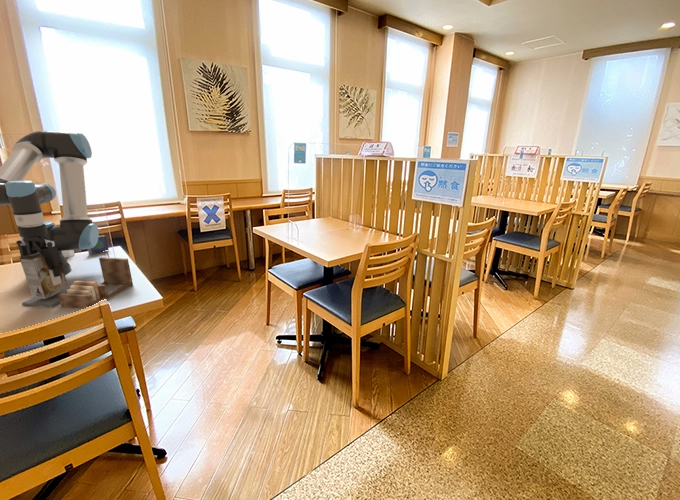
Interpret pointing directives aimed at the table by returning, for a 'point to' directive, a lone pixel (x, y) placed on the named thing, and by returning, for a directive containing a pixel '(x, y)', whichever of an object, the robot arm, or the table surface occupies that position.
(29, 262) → the coffee box
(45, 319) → the table surface
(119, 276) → the walnut rack
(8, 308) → the table surface
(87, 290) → the offcut stack
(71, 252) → the jar
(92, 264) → the table surface
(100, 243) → the flask
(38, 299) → the rubber mat
